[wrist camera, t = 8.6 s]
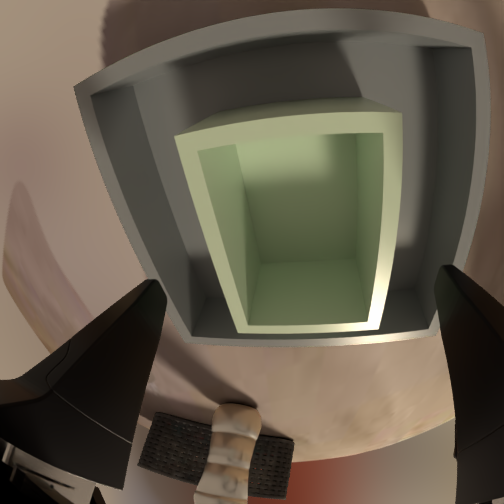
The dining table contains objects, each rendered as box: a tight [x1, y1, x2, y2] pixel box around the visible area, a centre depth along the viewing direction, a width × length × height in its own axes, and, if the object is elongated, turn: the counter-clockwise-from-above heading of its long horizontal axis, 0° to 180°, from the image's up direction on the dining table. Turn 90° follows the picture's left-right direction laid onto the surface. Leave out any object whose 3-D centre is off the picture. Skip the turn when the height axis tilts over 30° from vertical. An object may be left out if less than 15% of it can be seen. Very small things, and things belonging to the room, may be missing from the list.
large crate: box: [74, 8, 491, 347], centre depth 12 cm, size 16×16×4 cm
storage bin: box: [137, 413, 294, 500], centre depth 43 cm, size 29×19×13 cm
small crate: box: [174, 97, 403, 334], centre depth 11 cm, size 6×9×5 cm
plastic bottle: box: [194, 403, 261, 504], centre depth 25 cm, size 6×7×20 cm
